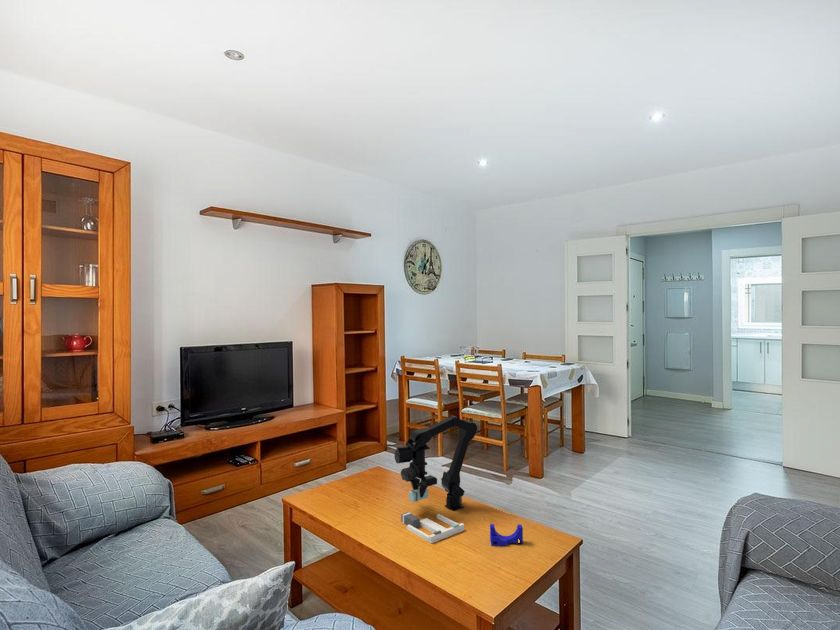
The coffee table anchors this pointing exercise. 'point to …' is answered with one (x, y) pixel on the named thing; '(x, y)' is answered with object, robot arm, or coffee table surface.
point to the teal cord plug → (417, 495)
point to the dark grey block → (410, 519)
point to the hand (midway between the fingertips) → (418, 496)
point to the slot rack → (437, 529)
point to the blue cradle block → (504, 540)
